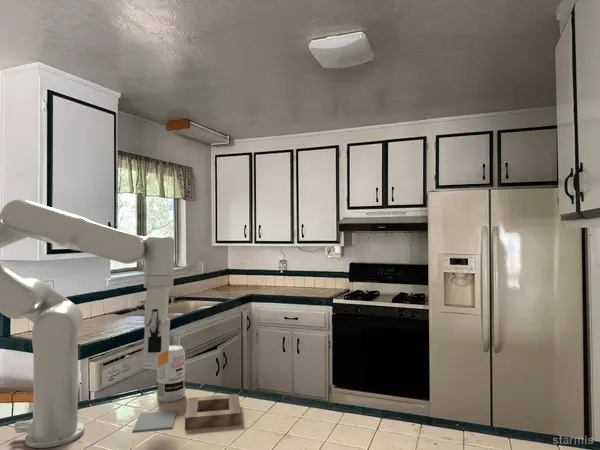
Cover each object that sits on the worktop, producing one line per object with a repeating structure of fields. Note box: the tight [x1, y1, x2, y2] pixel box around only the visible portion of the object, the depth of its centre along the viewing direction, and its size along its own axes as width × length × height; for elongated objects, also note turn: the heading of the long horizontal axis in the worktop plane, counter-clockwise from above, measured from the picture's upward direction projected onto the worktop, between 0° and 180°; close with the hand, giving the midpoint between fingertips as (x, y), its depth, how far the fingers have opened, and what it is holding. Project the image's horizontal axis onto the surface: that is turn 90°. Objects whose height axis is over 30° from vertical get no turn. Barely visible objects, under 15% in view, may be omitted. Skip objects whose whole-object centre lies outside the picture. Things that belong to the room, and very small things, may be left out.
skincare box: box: [142, 319, 171, 370], centre depth 112 cm, size 6×4×12 cm
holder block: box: [184, 393, 242, 431], centre depth 114 cm, size 14×14×3 cm
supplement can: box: [156, 344, 186, 403], centre depth 129 cm, size 8×8×15 cm
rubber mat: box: [132, 409, 178, 433], centre depth 111 cm, size 10×11×1 cm
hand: (156, 348), depth 112 cm, fingers closed on skincare box, 7 cm apart
